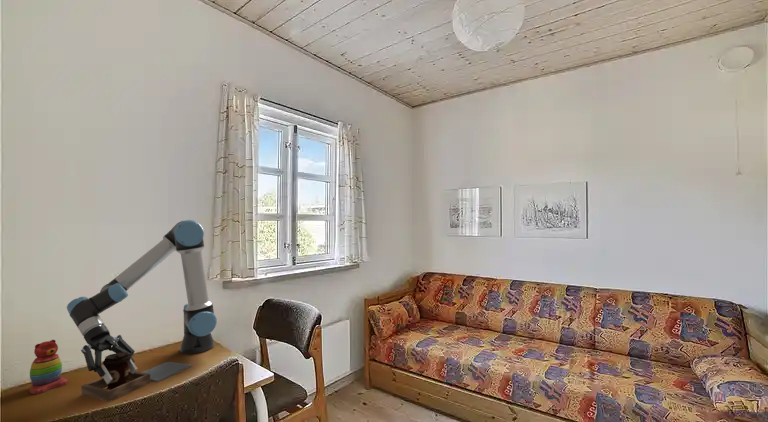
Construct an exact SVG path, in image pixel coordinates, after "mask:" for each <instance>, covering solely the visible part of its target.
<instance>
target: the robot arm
mask: <svg viewBox="0 0 768 422" xmlns="http://www.w3.org/2000/svg"><path fill="white" fill-rule="evenodd" d="M204 234H205V230H204V228H203V226H202V225H201V224H200V223H199V221H198V222H197V221H196V220H193V219H186V220H181V221H179V222H177V223H176V224H175V225H173V227H172V228H171V229H170V230H169V231H168V232H167V233H166V234H164V236H163V237H162V240H160V241H159V242H158V243H157V244H155V245H154V246H153V247H152V248H150V249H149V250H148V251H147V252H146V253H144V254H143V255H142V256H140V258H138V259H137V260H136V261H134V262H133V263H131V264H130V265H129V266H128V267H127V268H126V269H124V270H123V271H122V272H120V273H119V274H118V275H117V276H116V277H115V278H114V279H112V280H111V281H110V282H108V283H107V284H104V285H103V286H102V287H101V289H100V292H98V293H96V294H95V295H93V296H91V297H87V296H79V297H78V298H74V299H72V300H71V301H70V302H68V304H67V305H66V310H67V312H68V314H69V317H70V318H71V319H72V321H73V323H74V324H75V326H76V327H77V329H78V330H79V332H80V334H81V335H82V336H83V339H84V340H85V342H86V344H87V345H83V347H82V348H81V350H80V351H81V353H82V354H83V356H84V360H85V363H86V367H87V370H88V371H89V372H92V371H93V372H95V373H97V375H98V376H99V377H101V378H104V380H105V382H106V383H107V384H109V383H110V382H111V381H112V379H113V378H112V377H111V375H110V374H109V372H108V370H107V369H106V367H105V365H104V364H102V355H103V354H102V353H103V352H104V351H110V352H111V351H112V352H113V353H114V354H116V353H122V352H127V353H128V355H129V356H130V357H131V359H130V361H129V370H130V371H131V373H132V374H133V373H135V371H136V372H137V370H138V367H137V366H136V364H135V359H134V358H133V355H134V353H135V350H134V349H133V348H132V347H131V345H129V343H127V342H126V341H125V339H123V337H122V335H121V334H118V335H117V336H112V335H111V333H110V331H109V329H108V327H107V326H106V325H105V322H104V321H103V319H102V318H101V316H100V315H99V314H102V313H103V312H105V311H106V310H107V309H110V308H111V307H114V306H115V305H116V304H119V303H120V302H122V301H124V300H125V299H126V298H128V296H129V294H128V292H127V291H128V290H129V289H131V288H132V287H133V286H134V285H135V284H136V283H138V282H139V281H140V280H141V279H143V278H144V277H145V276H146V275H147V274H149V273H150V272H151V271H152V270H154V269H155V268H156V267H157V266H159V264H161V263H162V262H163V261H164V260H166V259H167V258H168V257H169V256H170V255H171V254H173V253H174V252H175V251H176V252H177V253H179V254H180V258H181V259H180V260H181V264H182V266H181V267H182V270H183V271H182V273H183V278H184V283H185V284H184V285H185V292H186V296H187V297H186V299H187V303H186V304H184V305H183V310H182V312H183V337H182V340H181V341H182V342H181V344H180V347H179V349H180V350H179V351H180V353H181V354H187V355H191V354H192V355H193V354H199V353H203V352H206V351H209V350H212V349H213V348H215V347H214V346H215V340H214V338H213V336H212V332H213V331H214V330H215V328H216V327H217V323H218V322H217V317H216V315H215V311H214V306H213V301H210V300H209V294H208V289H207V288H208V287H207V282H206V281H207V280H206V274H205V267H204V260H203V254H202V251H203V249H204V248H205V242H204V237H205V235H204ZM92 350H94V356H93V352H92Z"/></svg>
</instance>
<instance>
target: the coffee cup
mask: <svg viewBox="0 0 768 422" xmlns="http://www.w3.org/2000/svg"><path fill="white" fill-rule="evenodd" d="M104 357H105V358H104V360H103V361H102V365H105V367H106V369H107V370H108V372H109V374H110V375H111V377H112V378H113V379H112V381H111V382H110V383H109V384H107V385H108V386H107V388H106V389H109V390H111V389H114V388H116V387H118V386H120V385H123V384H125V383H127V382H128V380H127V378H128V371H129V361H130V359H131V357H130V356H129V355H128V353H127V352H122V353H111V354H108V355H107V356H104Z"/></svg>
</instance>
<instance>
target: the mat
mask: <svg viewBox="0 0 768 422" xmlns="http://www.w3.org/2000/svg"><path fill="white" fill-rule="evenodd" d="M191 367H192V364H189V363H181V362H175V361H174V362H173V361H165V362H164V363H161V364H158V365H156V366H154V367H152V368H150V369H147V370H145V371H142V373H148V374H150V382H155V383H159V382H161V381H162V380H163V381H164V380H165V379H168V378H169V377H171V376H173V375H175V374H178V373H179V372H182V371H185V370H186V369H188V368H191Z"/></svg>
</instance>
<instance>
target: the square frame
mask: <svg viewBox="0 0 768 422" xmlns="http://www.w3.org/2000/svg"><path fill="white" fill-rule="evenodd" d="M142 372H143V371H142ZM142 372H140V371H137V370H136V371H135V373H133V374H132V373H131V371H130V370H129V371H128V378H127V383H125V384H123V385H120V386H118V387H116V388H114V389H111V390H109V389H107V388H106V387H108V385H107V383H106V382H105V380H104V378H103V377H101V378H98V379H96V380H93V381H91V382H88V383H86V384H84V385H81V386H80V387H81V388H80V389H81V391H80V392H81V393H80V394H81V396H82V397H85V398H91V399H95V400H100V401H104V402H105V401H106V402H111V400H112V401H115V400H117V399H118V398H120V397H119V396H121V397H122V395H123V396H125V395H127V394H129V393H131V392H133V391H136V390H137V389H139V388H140V389H141V388H142V387H144V386H146V384H147V385H148V384H150V383H151V381H150V374H148V373H142ZM117 397H118V398H117Z"/></svg>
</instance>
